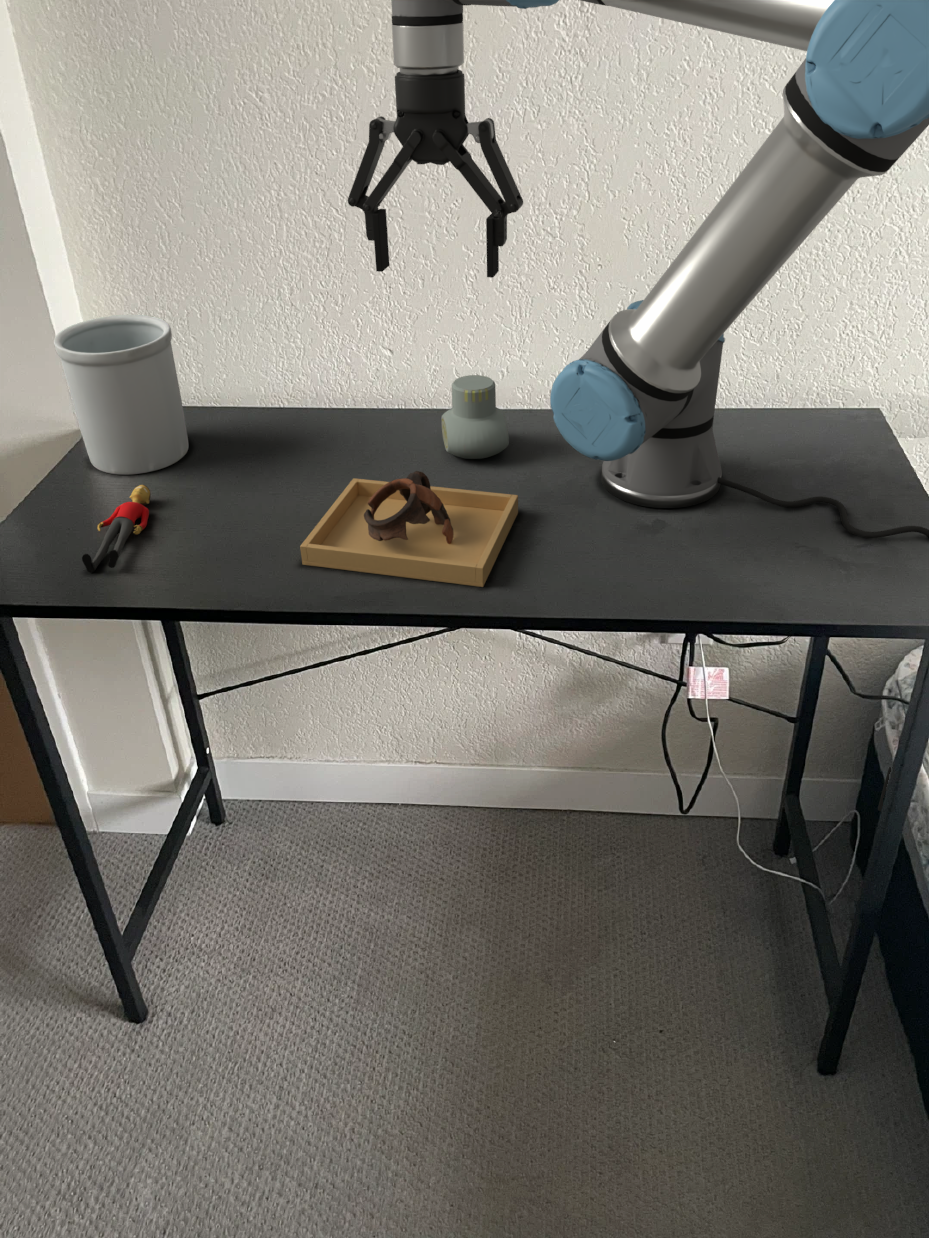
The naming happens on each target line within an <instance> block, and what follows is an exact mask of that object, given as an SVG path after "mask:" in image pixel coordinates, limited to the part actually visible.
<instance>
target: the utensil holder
mask: <svg viewBox="0 0 929 1238" xmlns="http://www.w3.org/2000/svg"><path fill="white" fill-rule="evenodd" d="M172 338H173V334H172V329H171V325H170V324H169V323H168V321H166V320H164V319H162V318H159V317H157V316H152V315H144V314H118V315H107V316H102V317H96V318H92V319H87V320H83V321H80V322H77V323H75V324H72V325H69V326H68V327H65V328H64V329H62V330H60V331H59V332H58V333H57V334H56V335H55V336H54V338H53V346H54V350H55V352H56V355H57V356H58V357H59V359H60V365H61V367H62V371H63V375H64V378H65V381H66V386H67V388H68V391H69V392H68V393H69V395H70V398H71V403H72V406H73V409H74V413H75V416H76V421H77V423H78V428H79V430H80V433H81V437H82V440H83V443H84V446H85V450H86V452H87V456H88V458H89V461H90V463H91V465H92V466H93V467H94V468H95V469H97V470H99V471H100V472H104V473H107V474H111V475H123V476H124V475H125V476H127V475H129V476H130V475H138V474H139V475H140V474H146V473H150V472H155V471H158V470H161V469H164V468H167V467H169V466H170V467H171V466H172V465H173V464H176V463H177V462H178V461H180V460H181V459H183V458H184V457H185V455H186V454H187V453H188V450H189V438H188V437H189V436H188V430H187V423H186V418H185V412H184V405H183V400H182V395H181V390H180V386H179V385H180V384H179V378H178V372H177V367H176V363H175V357H174V351H173V346H172Z"/></svg>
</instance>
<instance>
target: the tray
mask: <svg viewBox="0 0 929 1238" xmlns="http://www.w3.org/2000/svg"><path fill="white" fill-rule="evenodd" d="M388 482H389V481H385V480H384V481H383V480H373V479H363V478H354V477H353V478H352V479H351V480H350V482H349V483H348V485H347V486H346V487H345V488H344V490H343V491H342V492H341V493H340V495H339V496H338V497H337V498H336V500H335V501H334V502H333V504H332V505H331V506H330V507H329V509H328V510H327V511H326V512H325V514H323V516H322V518H321V519H320V520H319V521H318V522H317V523H316V525H315V526H314V527H313V529H312V530H311V532H310V533H309V534H308V536H307V537H306V538H305V539H304V541H303V542H302V543H301V545H300V546H299V549H300V555H301V563H302V564H301V565H303V566H309V567H310V566H311V567H320V568H325V569H326V568H328V569H335V570H342V571H344V570H345V571H351V572H352V571H353V572H359V573H367V574H375V575H383V576H392V577H399V578H406V579H414V580H423V581H431V582H432V581H433V582H439V583H448V584H455V585H463V586H469V587H470V586H471V587H479V588H480V587H481V588H483V587H484V586H485V584H486V581H487V580H488V577H489V575H490V574H491V572H492V569H493V567H494V565H495V563H496V561H497V558H498V556H499V554H500V552H501V550H502V548H503V546H504V543H505V542H506V539H507V537H508V535H509V533H510V531H511V529H512V526H513V525H514V522H515V520H516V518H517V516H518V514H519V495H518V494H512V493H511V494H510V493H500V492H492V491H491V492H490V491H482V490H473V489H461V488H452V487H443V486H433V485H430V487H431V490H432V491H433V492H434V493H435V494H436V495H437V497H439V498H440V500H441V502H442V503H443V505H444V507H445V509H446V511H447V514H448V516H449V518H450V522H451V526H452V528H453V532H454V535H453V540H452V542H451V543H450V544H448V543H447V541H446V536H444V535H443V533H442V530H443V527H444V525H442V524H436V523H435V521H434V517H433V515H432V512H431V511H430V512H429V513H427V514H426V515H427V517H428V518H429V519H430V521H429V522H427V523H426V524H411V523H409V522H406V535H407V538H408V540H404V539H401V538H393V539H391V540H382V541H378V540H375V539H373V538H372V537H370V535H369V533H368V532H369V531H368V523H367V522H366V521H365V519H364V513H365V512H366V510H367V509H369V510H370V511H371V507H370V506H369V505H368V501H369V499H370V498H371V497H372V496H373V494H374V493H375V492H377V490H378V489H380V488H381V487H382V486H384V485H385V484H387V483H388ZM406 503H407V501H406V500H405V499H404V497H403V496H402V495H401V494H400V491H399V490H397V491H396V492H395V493H394V494H392V495H390V496H389V497H388V498H387V499H386V500H384V501H383V502H382V503H381V504H380V506H379V507H378V509H377V510H376V512H375V514H374V520H384V519H387V518H389V517H391V516H393V515H395V514H396V513H397V512H399V511H400V510H401V509H402V508H403V506H404V505H405V504H406Z"/></svg>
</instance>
